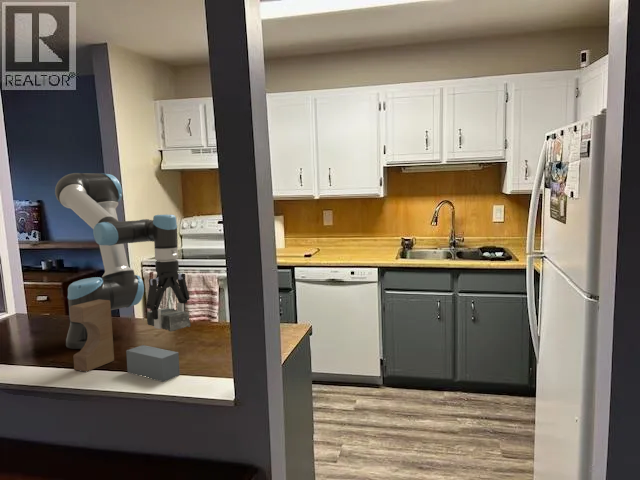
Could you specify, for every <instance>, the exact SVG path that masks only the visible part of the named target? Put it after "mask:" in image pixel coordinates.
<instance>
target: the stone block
mask: <svg viewBox="0 0 640 480" xmlns="http://www.w3.org/2000/svg"><path fill="white" fill-rule="evenodd" d="M160 309H161V330H166V331H167V330H168V332H175V331H177V330H181V329H184V328H190V327H191V326H192V324H191V319H190V313H189V311H178V310H177V309H175V308H169V307H165V308H164V307H163V308H160ZM146 322H147V325H148V326H151V327H154V319H153V318H152V310H149V311H146Z"/></svg>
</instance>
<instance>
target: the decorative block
mask: <svg viewBox="0 0 640 480" xmlns="http://www.w3.org/2000/svg"><path fill="white" fill-rule="evenodd" d="M70 320H71V322H78V323H81V324H83V325H84V326H85V327H86V329H87V333H88V335H87V341H86V343H85V345H84V347H83V348H82V349H79V350H80V351H78V352H76V353H75V354H73V357H72V358H73V369H74V370H75V371H78V370H81V371H80V372H84V371H87V372H89V370H90V371H93V370H95V369H98V368H100V367H102V366H105V365H107V364H110V363H113V362H114V361H115V351H114V338H113V335H114V334H113V325H112V322H113V321H112V310H111V306H110V301H109V300H100V299H98V300H94V301H90V302H86V303H81V304H77V305H73V306H70V316H69V321H70Z"/></svg>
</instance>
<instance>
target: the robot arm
mask: <svg viewBox="0 0 640 480" xmlns="http://www.w3.org/2000/svg"><path fill="white" fill-rule="evenodd" d="M54 189H55V190H54V194H55V197H56V200H57V201H58V202H59V203H60V205H62V206H63V207H64V208H67V209H70V210H72V211H73V212H74V213H75V214H76V215H77V216H79V218H80V219H82V221H84V222H85V223H86V224H87V225H88V227H90V228H91V229H92V230H93V231H92V232H93V238H94V241H95V243H96V244H97V245H98V246H99V251H100V255H101V259H102V265H103V269H104V273H103V275H102V276H101V277H100V276H99V277H98V276H97V277H96V276H95V277H94V276H93V277H87V278H83V279H79V280H75V281H73V282H72V283H70V284H69V285H68V287H67V303H68V315H69V316H68V317H70V306H73V305H77V304H81V303H86V302H90V301H94V300H98V299H100V300H109V301H110V306H111V311H113V310H119V309H124V308H129V307H133V306H136V305H138V304H139V303H140V302H141V301H142V299H143V296H144V293H145V285H144V281H143V278H142V277H141V276H140V275H138V274H135V271H134V269H133V268H132V267H129V263H128V258H127V254H126V249H125V244H133V243H134V244H135V243H147V242H154V243H153V244H154V259H155V263H154V264H155V265H154V267H155V272H156V277H154V278H149V279H148V285H149V286H148V294H147V298H146V306H145V307H146V309H149V310H150V311H152V318H153V319H154V326H153V329H158V330H162V328H161V309H162V308H160V306H161V302H162V300H163V296H164V295H165V292H166V291H167V289H168V288H171V290H172V291H173V293H174V295H175V297H176V299H177V301H178V302H176V310H178V311H184V312H186V304H187V303H188V301H189V300H190V294H189V290H188V286H187V281H186V274H185V273H182V272H181V273H180V272H178V271H179V269H180V268H179V264H180V263H179V260H178V259H179V250H178V249H179V248H178V247H179V246H178V244H179V243H178V225H177V217H176V215H174V214H156V215H153V219H147V218H145V219H144V218H143V219H139V220H126V221H125V220H124V221H122V220H121V221H120V220H119V219H118V214H117V207H118V206H119V202H120V201H121V199H122V197H123V196H122V193H123V189H122V185H121V182H120V181H119V179H118V178H117V176H114V175H113V174H109V173H103V172H101V173H100V172H99V173H87V172H86V173H83V172H82V173H81V172H73V173H69V174H66V175H64V176H63V177H61V178H60V179H59V180H58V181H57V183H56V185H55V188H54ZM87 335H88V333H87V329H86V327H85V326H84V325H83V324H81V323H78V322H71V320H70V319H69V328H68V330H67V334H66V338H65V346H66V347H65V348H67V349H71V350H81V349H82V348H83V347H84V345H85V343H86V341H87Z"/></svg>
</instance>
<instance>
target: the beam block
mask: <svg viewBox="0 0 640 480" xmlns="http://www.w3.org/2000/svg"><path fill="white" fill-rule="evenodd" d="M125 352H126V353H125V354H126V356H125V357H126V367H127V368H126V369H127V373H129V374H133V375H135V374H137V376H139V375H142V376H141V377H143V376H146V377H149V378H148V379H150V378H152V379H151V380H154V379H155V381H159V382H162V383H164V382H166V381H170V380H171V379H174V378H176V377H179V376H180V375H181V373H180V372H181V371H180V356H179V355H180V354H179V353H180V352H178V351H173V350H169V349H168V350H167V349H162V348H159V347H154V346H149V345H145V344H143V345H139V346H135V347H132V348H130V349H127V350H125ZM146 377H145V378H146Z"/></svg>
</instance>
